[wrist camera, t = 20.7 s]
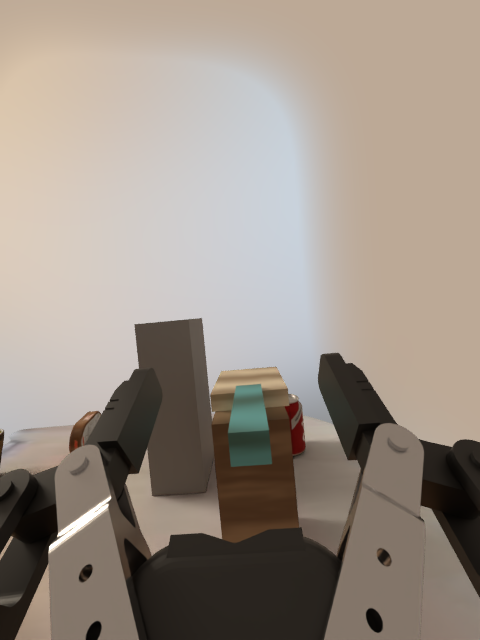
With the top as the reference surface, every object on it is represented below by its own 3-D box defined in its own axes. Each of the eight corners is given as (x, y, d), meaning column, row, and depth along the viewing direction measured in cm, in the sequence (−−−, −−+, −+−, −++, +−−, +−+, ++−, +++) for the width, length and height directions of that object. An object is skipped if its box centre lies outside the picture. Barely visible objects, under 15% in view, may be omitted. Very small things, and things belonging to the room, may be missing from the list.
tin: (93, 434, 70) (90, 407, 69) (105, 432, 70) (102, 405, 70) (69, 465, 55) (65, 430, 55) (84, 462, 56) (80, 427, 56)
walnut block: (307, 618, 24) (289, 418, 23) (230, 621, 24) (211, 424, 24) (287, 516, 36) (275, 383, 35) (236, 519, 36) (223, 387, 36)
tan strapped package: (313, 461, 17) (310, 426, 16) (190, 469, 17) (186, 436, 17) (277, 378, 37) (275, 363, 37) (222, 383, 38) (221, 368, 38)
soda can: (287, 462, 49) (282, 406, 48) (270, 446, 55) (265, 397, 54) (312, 452, 51) (307, 398, 51) (293, 438, 57) (289, 390, 57)
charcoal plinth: (205, 492, 42) (188, 319, 42) (152, 495, 43) (134, 324, 42) (214, 453, 54) (201, 318, 54) (173, 456, 55) (159, 322, 54)
